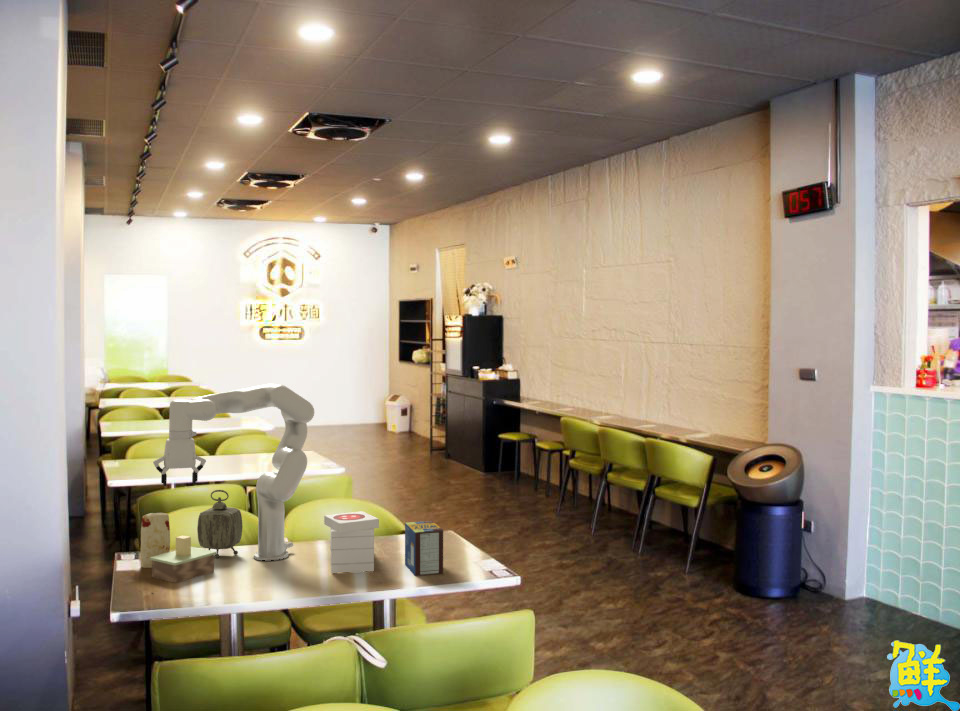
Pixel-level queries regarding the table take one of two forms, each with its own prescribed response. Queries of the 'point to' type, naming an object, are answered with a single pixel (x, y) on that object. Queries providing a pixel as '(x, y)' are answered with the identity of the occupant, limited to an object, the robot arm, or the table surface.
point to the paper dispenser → (352, 541)
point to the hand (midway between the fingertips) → (179, 484)
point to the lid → (182, 553)
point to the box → (182, 569)
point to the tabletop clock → (220, 526)
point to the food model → (154, 537)
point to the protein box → (424, 548)
